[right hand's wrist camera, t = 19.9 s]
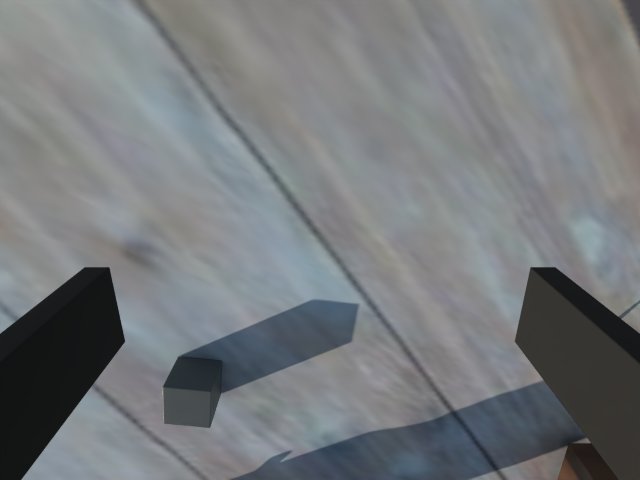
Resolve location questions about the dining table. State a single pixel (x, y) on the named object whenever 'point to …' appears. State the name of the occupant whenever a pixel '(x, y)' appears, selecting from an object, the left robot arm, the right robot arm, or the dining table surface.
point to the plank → (584, 464)
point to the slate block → (192, 392)
